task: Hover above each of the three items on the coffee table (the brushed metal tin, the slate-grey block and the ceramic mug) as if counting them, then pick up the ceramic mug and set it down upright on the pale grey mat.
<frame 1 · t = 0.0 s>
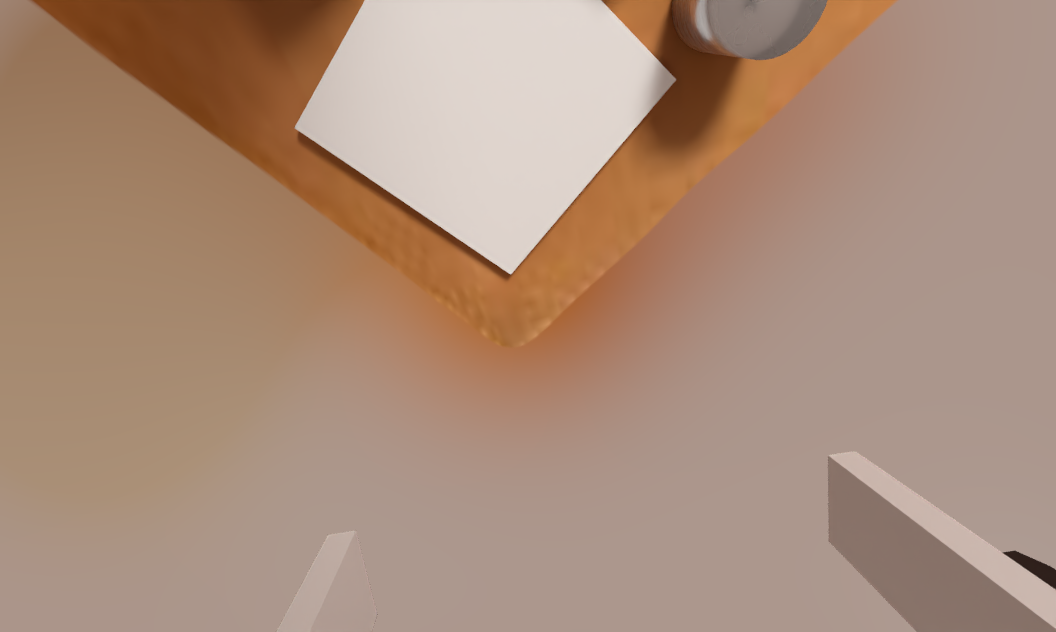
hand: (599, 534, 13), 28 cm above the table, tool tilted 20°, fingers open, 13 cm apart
grey mat: (487, 101, 33), on the table
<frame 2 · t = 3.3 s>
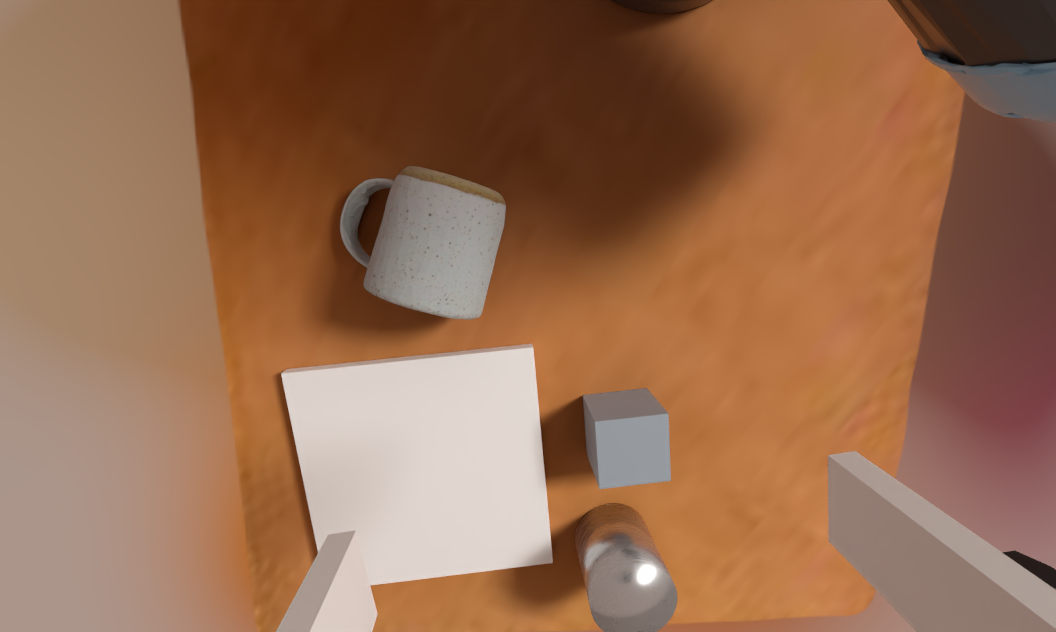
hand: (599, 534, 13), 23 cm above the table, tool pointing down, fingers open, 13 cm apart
metal tin: (610, 535, 40), on the table
ceramic mug: (425, 238, 35), on the table
grey mat: (427, 467, 38), on the table
slate block: (616, 421, 38), on the table
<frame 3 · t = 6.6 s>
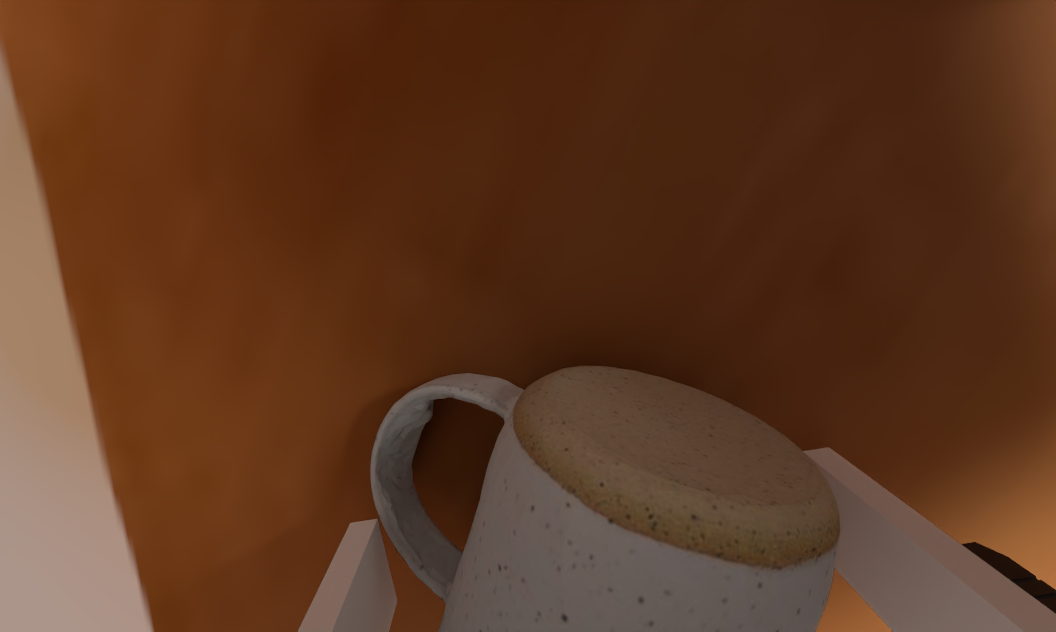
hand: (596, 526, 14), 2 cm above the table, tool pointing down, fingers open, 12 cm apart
ceramic mug: (560, 472, 15), on the table, touching gripper
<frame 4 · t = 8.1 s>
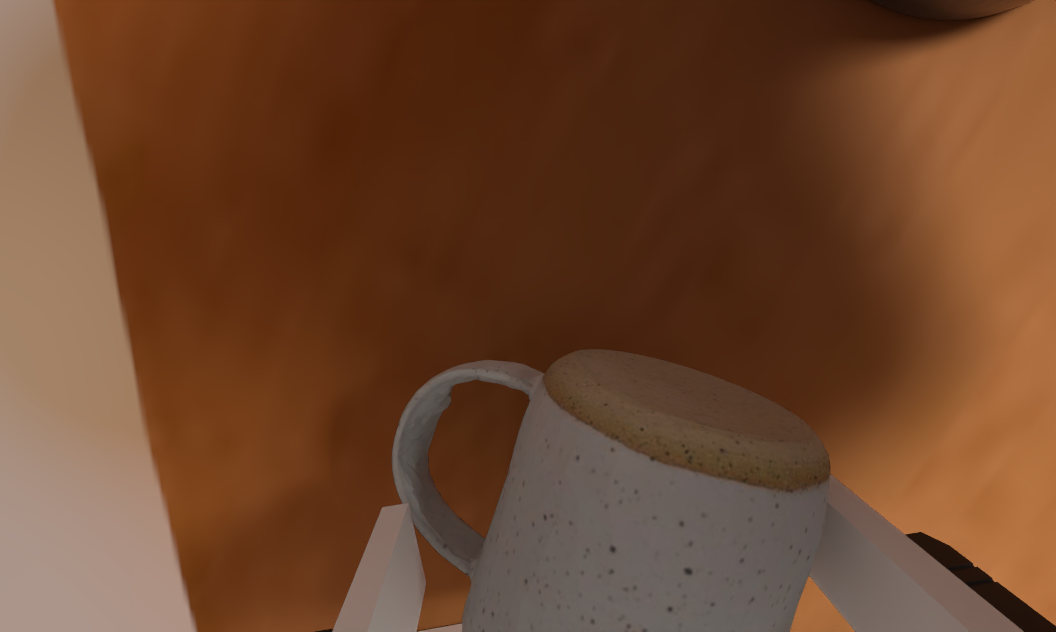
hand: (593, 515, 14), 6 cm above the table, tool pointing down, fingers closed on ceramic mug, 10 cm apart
ceramic mug: (567, 455, 16), point 3 cm above the table, touching gripper
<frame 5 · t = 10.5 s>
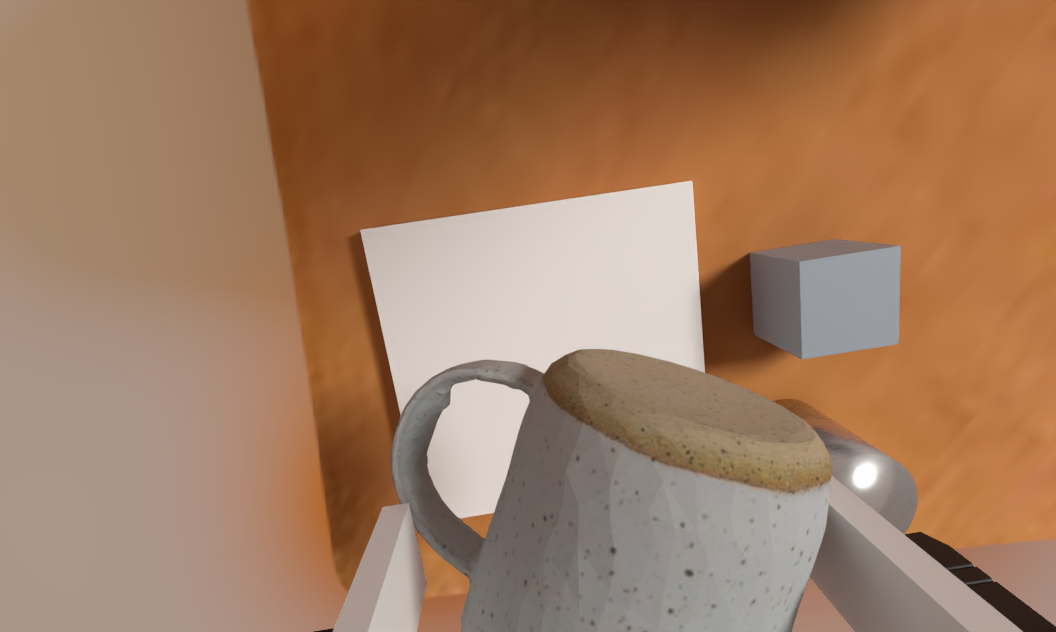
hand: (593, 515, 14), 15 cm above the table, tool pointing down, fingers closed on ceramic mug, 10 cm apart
metal tin: (781, 443, 31), on the table
ceramic mug: (566, 455, 16), point 13 cm above the table, touching gripper
grey mat: (547, 358, 29), on the table
slate block: (792, 287, 29), on the table
when the fingers open (3 cm above the table, at t = 13.1 s): ceramic mug stays where it is, resting on grey mat.
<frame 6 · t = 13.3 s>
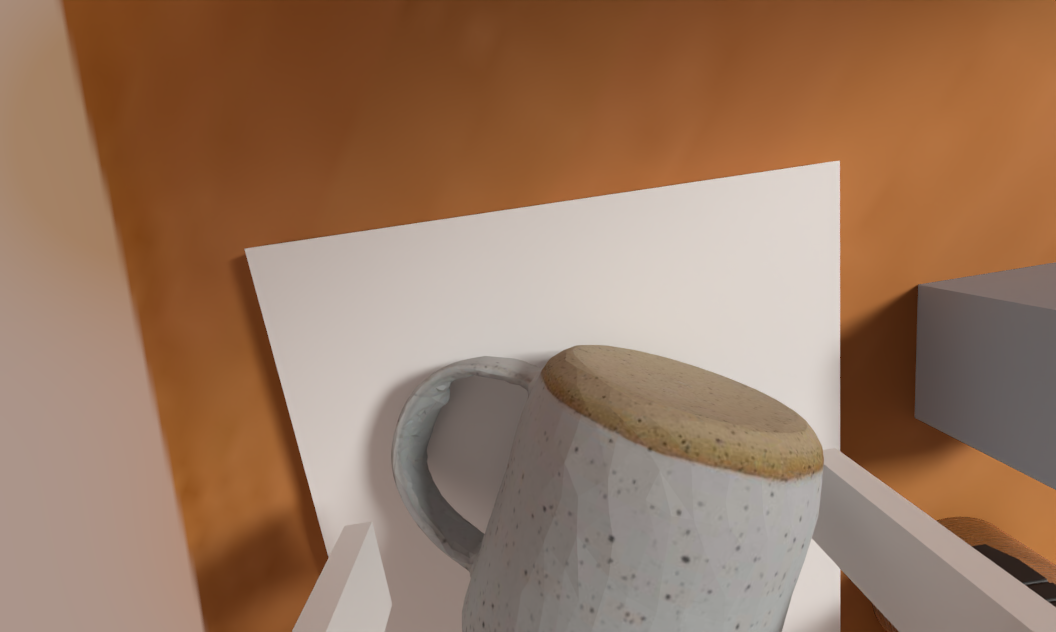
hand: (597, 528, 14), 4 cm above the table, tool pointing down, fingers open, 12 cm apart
metal tin: (944, 582, 20), on the table
ceramic mug: (564, 451, 17), point 1 cm above the table, touching grey mat
grey mat: (576, 458, 18), on the table
slate block: (982, 341, 17), on the table
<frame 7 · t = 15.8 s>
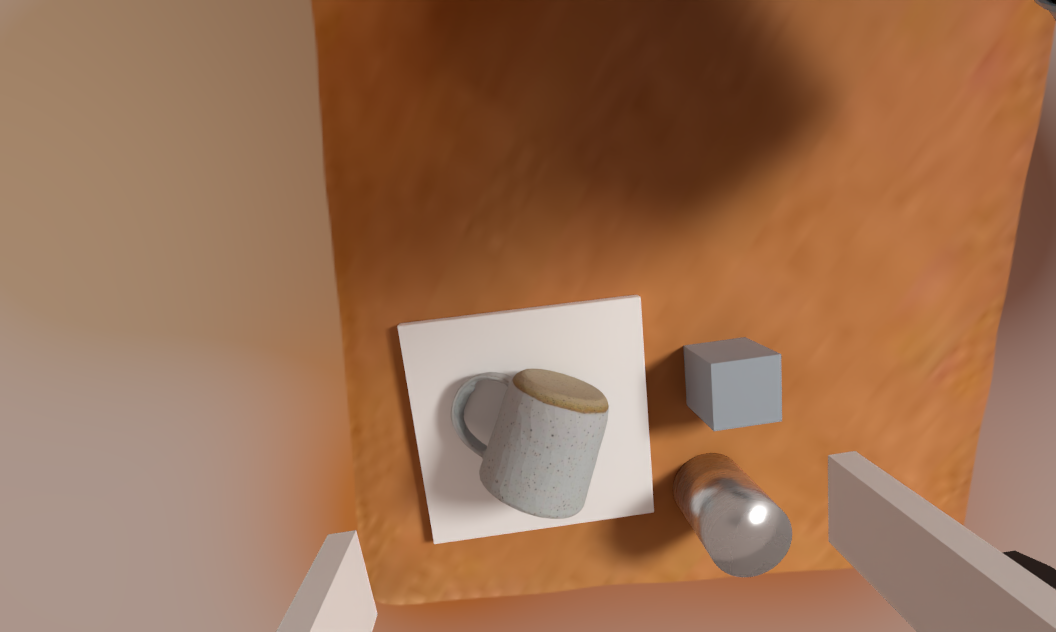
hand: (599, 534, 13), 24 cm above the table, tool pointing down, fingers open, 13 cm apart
metal tin: (707, 486, 41), on the table
ceramic mug: (523, 414, 38), point 1 cm above the table, touching grey mat
grey mat: (532, 419, 39), on the table
slate block: (715, 371, 39), on the table
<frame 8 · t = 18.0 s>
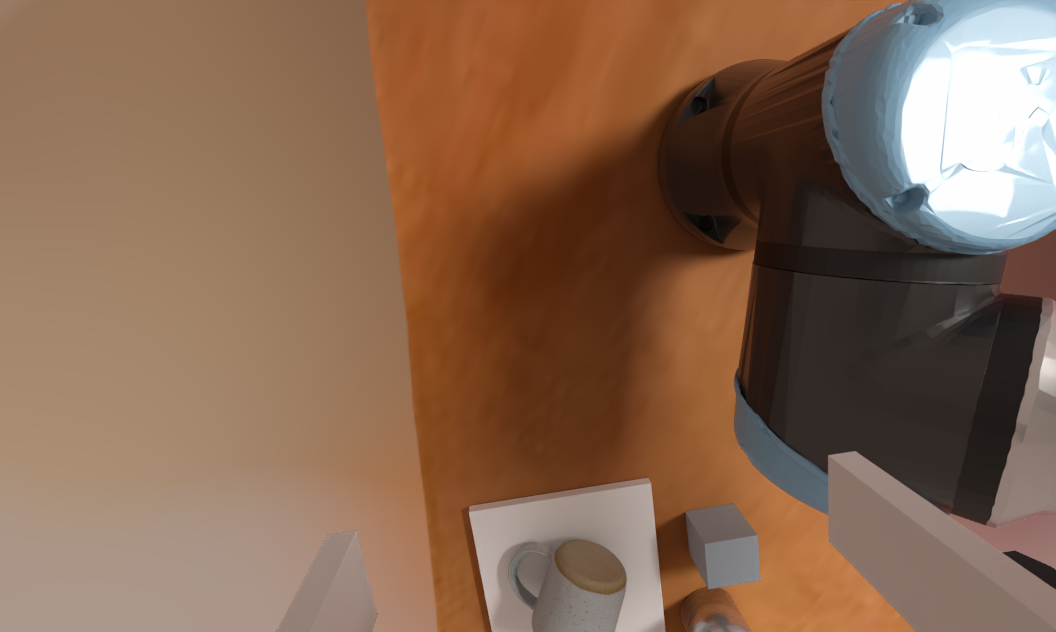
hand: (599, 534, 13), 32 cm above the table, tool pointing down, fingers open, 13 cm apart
metal tin: (707, 610, 53), on the table
ceramic mug: (561, 567, 50), point 1 cm above the table, touching grey mat
grey mat: (570, 568, 51), on the table
slate block: (710, 528, 51), on the table
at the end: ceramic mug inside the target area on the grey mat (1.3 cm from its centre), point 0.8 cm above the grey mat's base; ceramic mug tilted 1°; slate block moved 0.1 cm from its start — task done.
